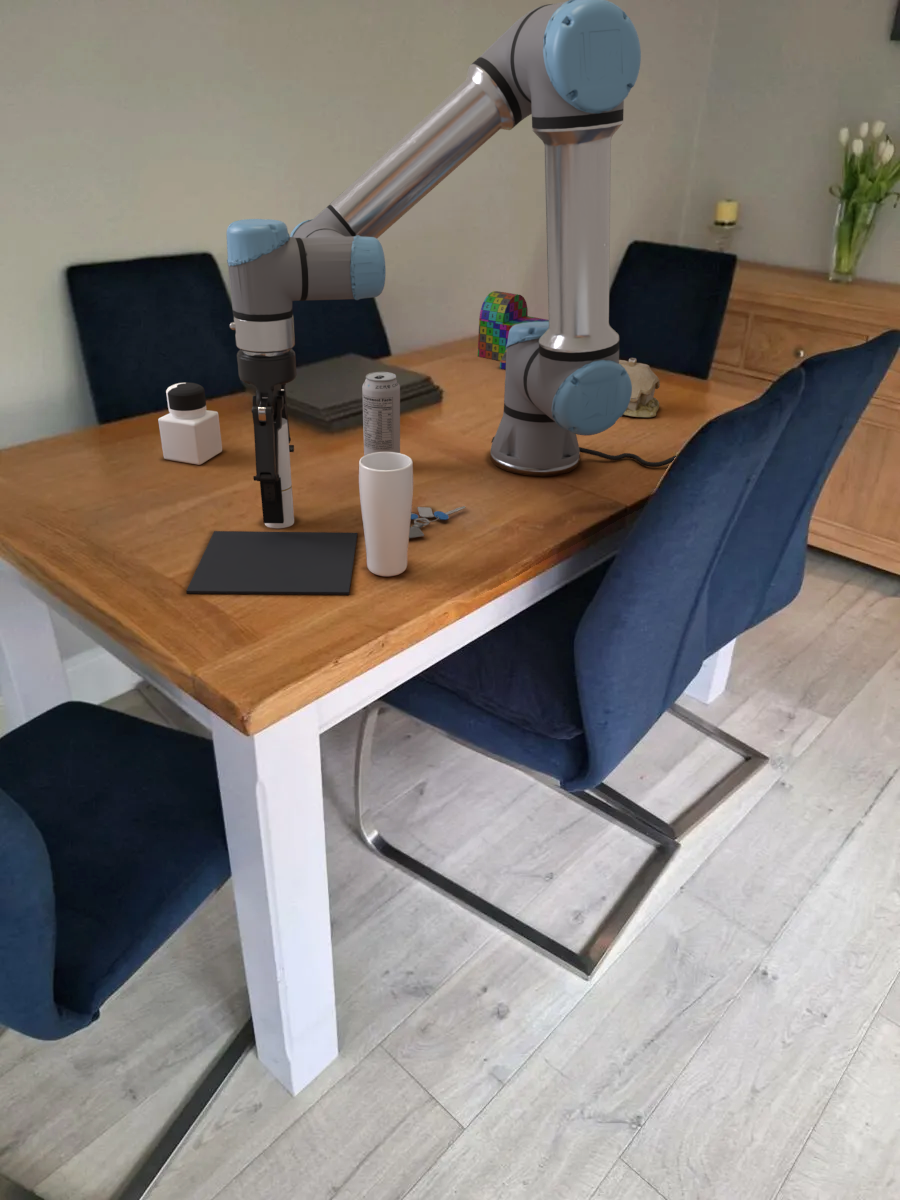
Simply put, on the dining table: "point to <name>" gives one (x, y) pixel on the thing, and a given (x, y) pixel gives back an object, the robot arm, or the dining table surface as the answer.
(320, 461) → the dining table surface
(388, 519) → the drinking glass
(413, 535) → the key chain
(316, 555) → the charcoal mat
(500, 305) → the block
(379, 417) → the energy drink can
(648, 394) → the ceramic model
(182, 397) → the medicine bottle
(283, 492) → the tube
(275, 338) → the robot arm
